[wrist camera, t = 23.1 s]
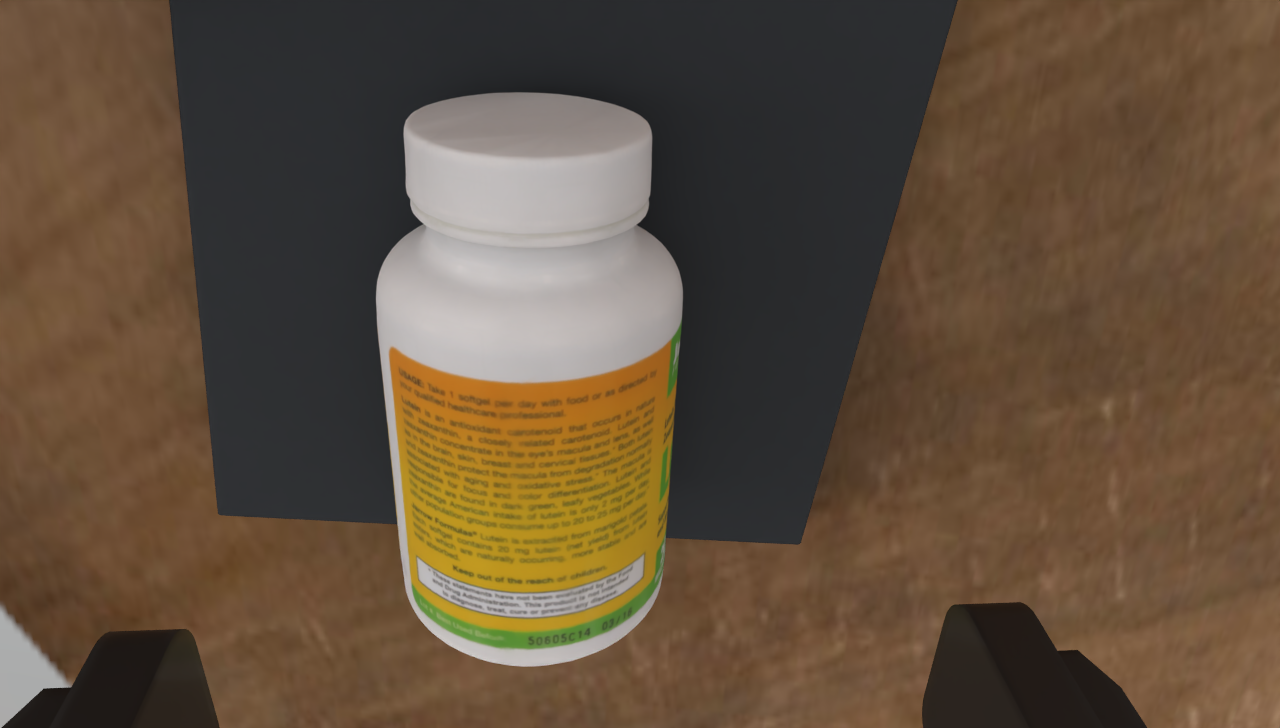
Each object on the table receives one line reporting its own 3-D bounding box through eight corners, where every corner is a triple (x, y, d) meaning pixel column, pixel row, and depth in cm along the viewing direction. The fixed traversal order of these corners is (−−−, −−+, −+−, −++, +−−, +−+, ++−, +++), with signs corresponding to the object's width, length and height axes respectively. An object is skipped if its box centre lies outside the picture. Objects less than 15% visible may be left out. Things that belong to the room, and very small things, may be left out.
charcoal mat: (953, -58, 18) (974, -52, 17) (791, 520, 25) (800, 546, 24) (171, -178, 16) (150, -179, 15) (229, 490, 23) (217, 516, 22)
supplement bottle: (707, 631, 19) (760, 156, 14) (439, 711, 17) (394, 191, 12) (606, 477, 23) (620, 73, 18) (383, 527, 21) (332, 88, 16)
